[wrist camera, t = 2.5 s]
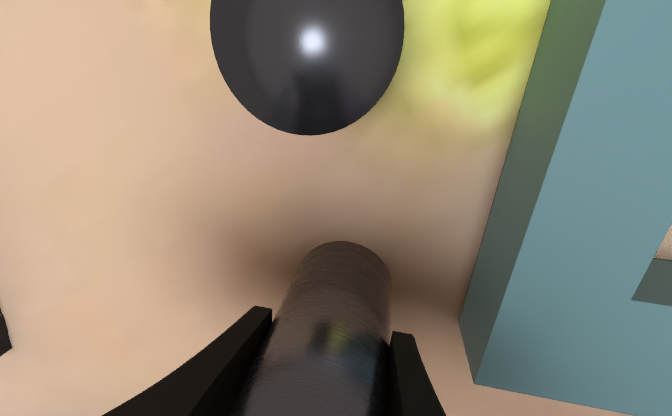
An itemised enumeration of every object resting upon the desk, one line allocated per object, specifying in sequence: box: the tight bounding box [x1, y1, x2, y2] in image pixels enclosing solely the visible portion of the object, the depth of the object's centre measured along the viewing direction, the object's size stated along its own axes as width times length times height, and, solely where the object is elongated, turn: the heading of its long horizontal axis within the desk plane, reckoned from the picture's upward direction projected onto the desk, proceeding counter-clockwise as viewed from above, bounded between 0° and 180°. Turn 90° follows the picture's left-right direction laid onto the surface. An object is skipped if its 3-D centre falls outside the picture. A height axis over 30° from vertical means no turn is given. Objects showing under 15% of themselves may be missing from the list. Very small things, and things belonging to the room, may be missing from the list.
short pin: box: [210, 0, 404, 135], centre depth 9 cm, size 4×4×4 cm
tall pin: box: [226, 242, 391, 416], centre depth 10 cm, size 4×4×9 cm
